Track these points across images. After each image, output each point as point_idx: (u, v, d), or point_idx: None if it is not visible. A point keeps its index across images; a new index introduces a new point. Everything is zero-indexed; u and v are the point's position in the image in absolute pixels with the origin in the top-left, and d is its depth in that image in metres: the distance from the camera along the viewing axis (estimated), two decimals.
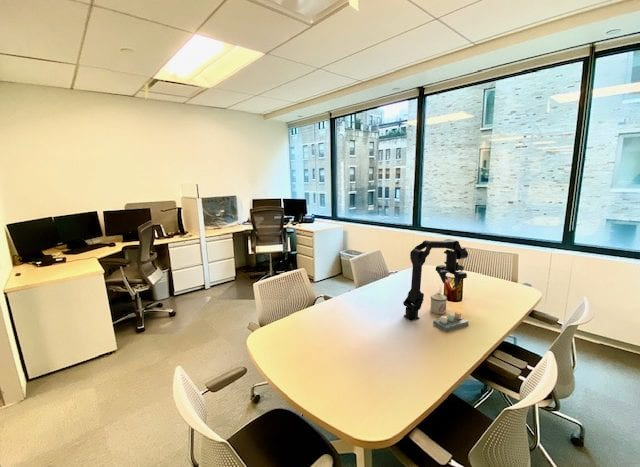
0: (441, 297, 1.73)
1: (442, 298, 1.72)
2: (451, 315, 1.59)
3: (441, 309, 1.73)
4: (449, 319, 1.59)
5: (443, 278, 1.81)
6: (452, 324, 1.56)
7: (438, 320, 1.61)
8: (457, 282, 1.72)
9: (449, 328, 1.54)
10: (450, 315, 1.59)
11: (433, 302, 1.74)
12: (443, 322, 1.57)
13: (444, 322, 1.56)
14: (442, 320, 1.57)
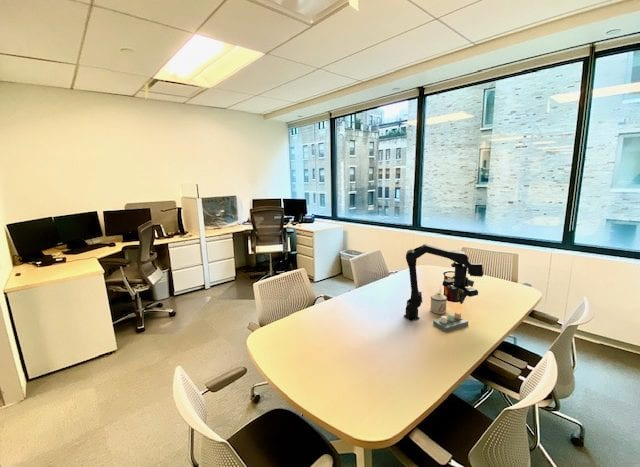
0: (441, 297, 1.73)
1: (442, 298, 1.72)
2: (451, 315, 1.59)
3: (441, 309, 1.73)
4: (449, 319, 1.59)
5: (455, 296, 1.61)
6: (452, 324, 1.56)
7: (438, 320, 1.61)
8: (463, 298, 1.57)
9: (449, 328, 1.54)
10: (450, 315, 1.59)
11: (433, 302, 1.74)
12: (443, 322, 1.57)
13: (444, 322, 1.56)
14: (442, 320, 1.57)
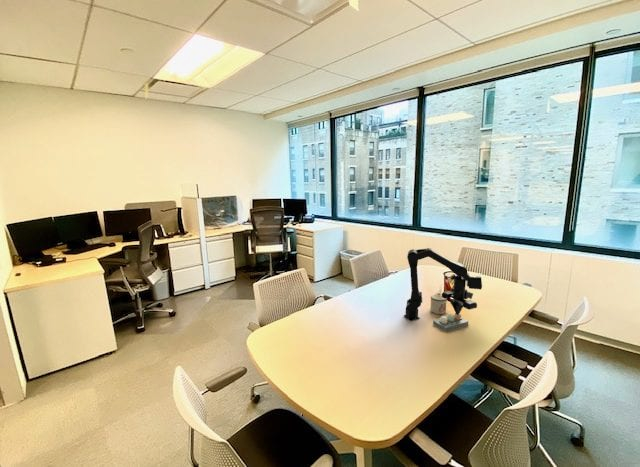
0: (441, 297, 1.73)
1: (442, 298, 1.72)
2: (451, 315, 1.59)
3: (441, 309, 1.73)
4: (449, 319, 1.59)
5: None
6: (452, 324, 1.56)
7: (438, 320, 1.61)
8: (459, 308, 1.59)
9: (449, 328, 1.54)
10: (450, 315, 1.59)
11: (433, 302, 1.74)
12: (443, 322, 1.57)
13: (444, 322, 1.56)
14: (442, 320, 1.57)
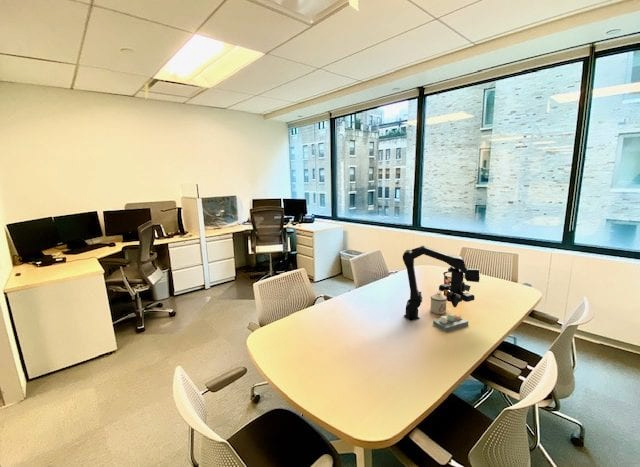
0: (441, 297, 1.73)
1: (442, 298, 1.72)
2: (451, 315, 1.59)
3: (441, 309, 1.73)
4: (449, 319, 1.59)
5: None
6: (452, 324, 1.56)
7: (438, 320, 1.61)
8: (456, 301, 1.58)
9: (449, 328, 1.54)
10: (450, 315, 1.59)
11: (433, 302, 1.74)
12: (443, 322, 1.57)
13: (444, 322, 1.56)
14: (442, 320, 1.57)
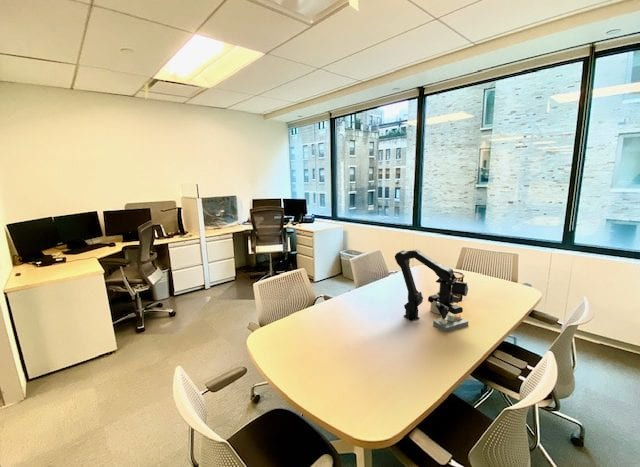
0: None
1: None
2: (451, 315, 1.59)
3: None
4: (449, 319, 1.59)
5: None
6: (452, 324, 1.56)
7: (438, 320, 1.61)
8: (445, 313, 1.56)
9: (449, 328, 1.54)
10: (450, 315, 1.59)
11: (433, 302, 1.74)
12: (443, 324, 1.57)
13: (444, 324, 1.57)
14: (442, 322, 1.57)
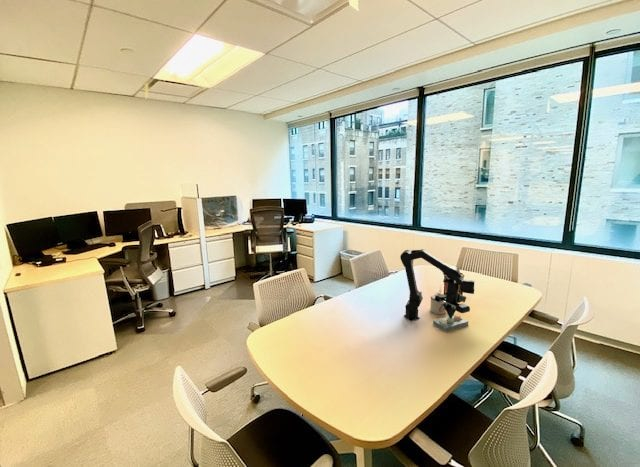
0: None
1: None
2: (451, 318, 1.60)
3: (441, 309, 1.73)
4: None
5: None
6: (452, 324, 1.56)
7: (438, 320, 1.61)
8: (452, 312, 1.58)
9: (449, 328, 1.54)
10: (450, 318, 1.60)
11: (433, 302, 1.74)
12: None
13: None
14: (442, 323, 1.57)
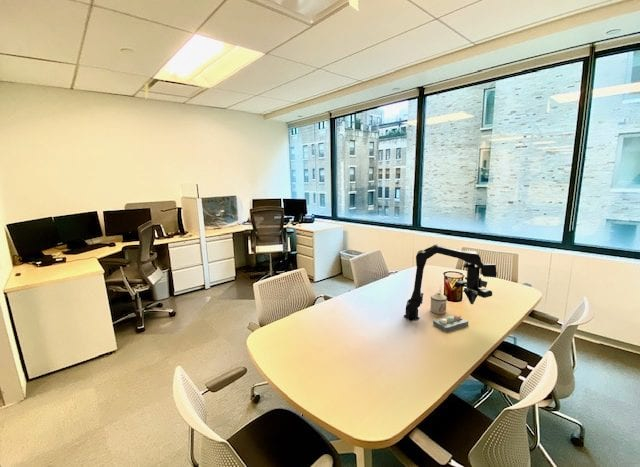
0: (441, 297, 1.73)
1: (442, 298, 1.72)
2: (451, 318, 1.60)
3: (441, 309, 1.73)
4: None
5: None
6: (452, 324, 1.56)
7: (438, 320, 1.61)
8: (473, 298, 1.54)
9: (449, 328, 1.54)
10: (450, 318, 1.60)
11: (433, 302, 1.74)
12: None
13: None
14: (442, 323, 1.57)
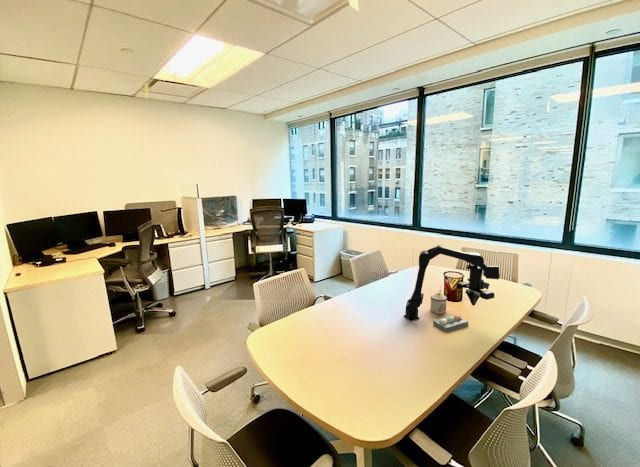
0: (441, 297, 1.73)
1: (442, 298, 1.72)
2: (451, 318, 1.60)
3: (441, 309, 1.73)
4: None
5: None
6: (452, 324, 1.56)
7: (438, 320, 1.61)
8: (475, 299, 1.54)
9: (449, 328, 1.54)
10: (450, 318, 1.60)
11: (433, 302, 1.74)
12: None
13: None
14: (442, 323, 1.57)
